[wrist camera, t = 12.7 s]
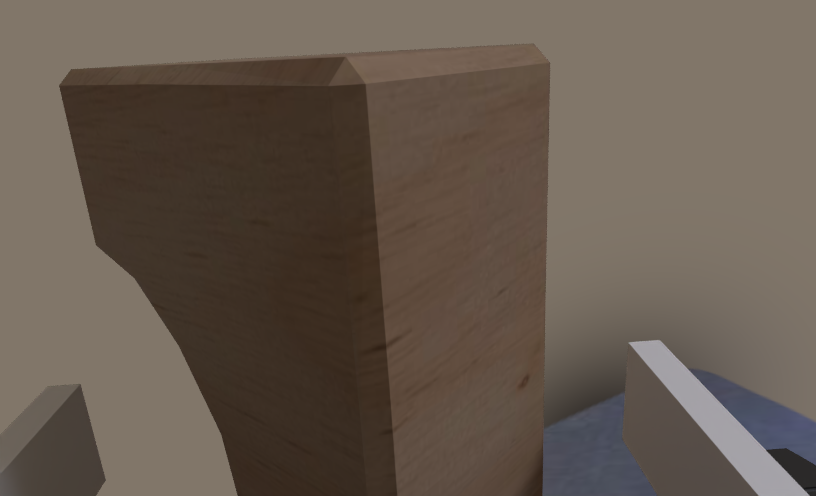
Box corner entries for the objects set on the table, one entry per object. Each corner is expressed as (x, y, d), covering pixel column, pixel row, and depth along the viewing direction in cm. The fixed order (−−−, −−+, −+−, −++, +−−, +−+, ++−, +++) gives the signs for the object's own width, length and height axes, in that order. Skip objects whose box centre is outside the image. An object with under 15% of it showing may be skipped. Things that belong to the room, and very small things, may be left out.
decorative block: (187, 658, 21) (49, 70, 15) (315, 560, 25) (248, 58, 19) (413, 964, 14) (330, 57, 8) (546, 759, 18) (565, 41, 11)
